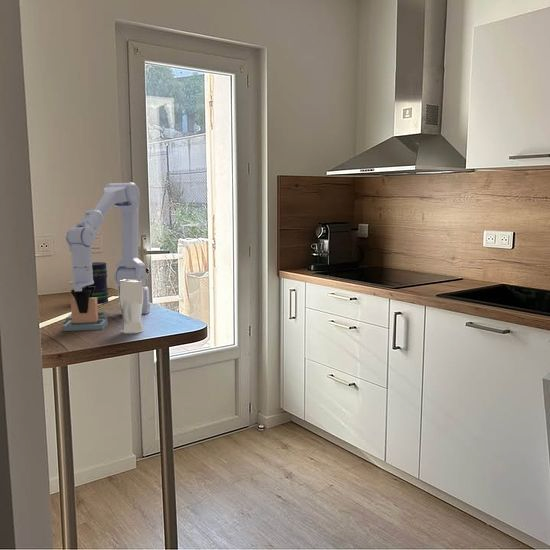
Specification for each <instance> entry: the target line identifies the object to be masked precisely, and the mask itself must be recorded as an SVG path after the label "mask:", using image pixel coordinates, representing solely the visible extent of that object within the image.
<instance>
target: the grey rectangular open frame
mask: <svg viewBox="0 0 550 550" xmlns="http://www.w3.org/2000/svg"><path fill="white" fill-rule="evenodd" d="M108 317H109V311H98V319H108ZM65 318H66V319H65V321H66V323H67V322H68V321H72V314H69V315H68V316H67V317H65Z"/></svg>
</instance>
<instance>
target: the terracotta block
mask: <svg viewBox="0 0 550 550" xmlns="http://www.w3.org/2000/svg"><path fill="white" fill-rule="evenodd" d="M98 305H99V304H98V303H97V297H89V302H88V311H87V313H80V312H79V310H78V306H77V303H76V300H75V298H74V297H72V298H71V299H70V309H71V311H70V312H71V314H72V323H83V322H97V321H98V312H99V308H98V307H99V306H98ZM71 314H70V315H71Z"/></svg>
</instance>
